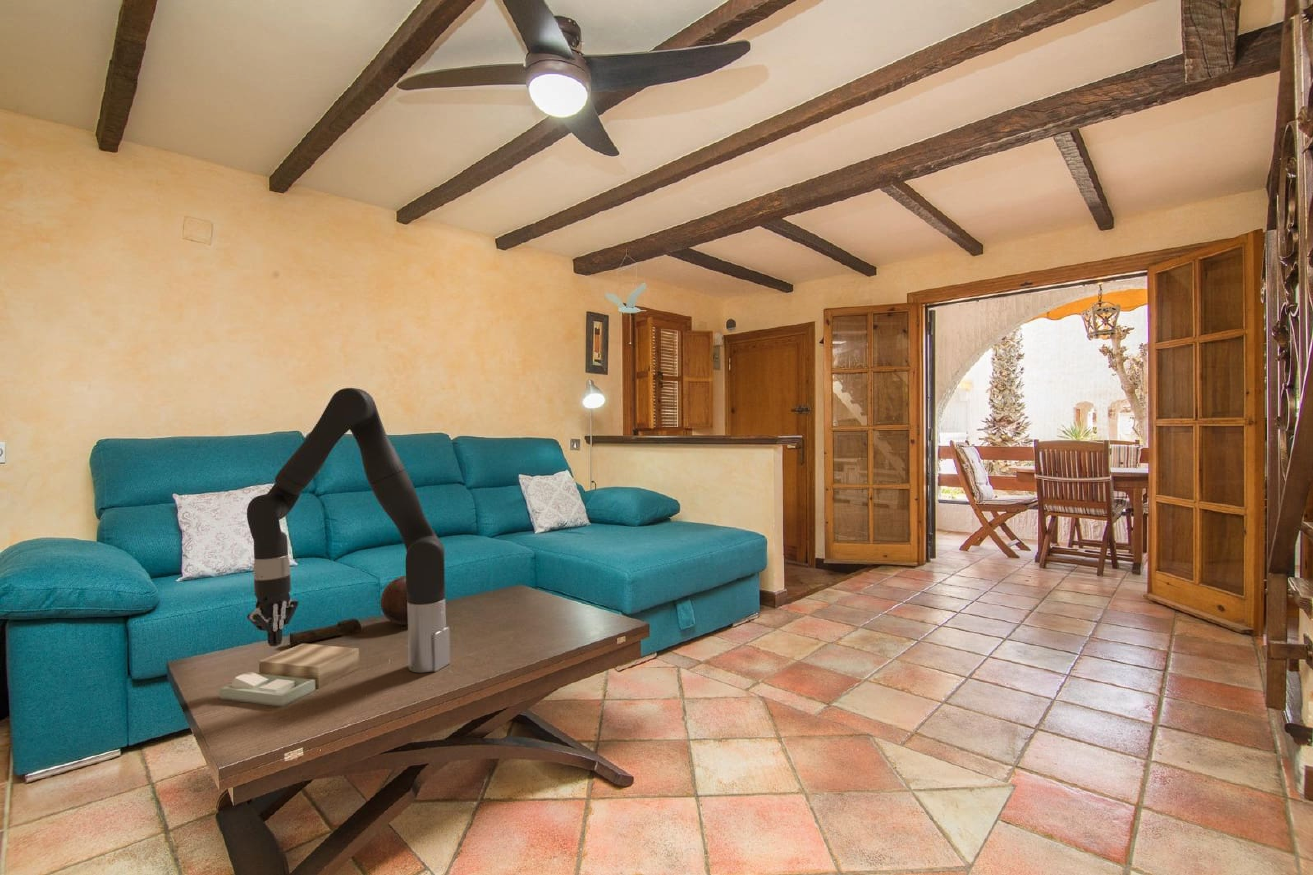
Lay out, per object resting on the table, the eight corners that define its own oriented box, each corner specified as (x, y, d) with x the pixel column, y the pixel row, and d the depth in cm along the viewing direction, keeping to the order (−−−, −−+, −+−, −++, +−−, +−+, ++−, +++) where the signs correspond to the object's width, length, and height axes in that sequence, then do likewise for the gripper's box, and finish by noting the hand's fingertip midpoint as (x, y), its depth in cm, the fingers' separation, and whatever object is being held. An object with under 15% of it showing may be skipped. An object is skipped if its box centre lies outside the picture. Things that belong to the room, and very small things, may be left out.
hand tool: (291, 649, 172) (290, 633, 172) (288, 645, 176) (288, 629, 176) (363, 634, 184) (362, 619, 184) (359, 631, 187) (359, 616, 187)
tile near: (275, 689, 138) (276, 698, 138) (294, 681, 143) (294, 689, 143) (258, 687, 139) (258, 696, 139) (277, 679, 144) (277, 687, 144)
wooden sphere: (440, 622, 194) (439, 575, 194) (394, 634, 183) (393, 584, 183) (417, 613, 204) (417, 569, 204) (372, 624, 193) (371, 577, 193)
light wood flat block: (359, 667, 157) (358, 648, 157) (318, 688, 144) (318, 667, 144) (303, 662, 162) (302, 643, 161) (259, 681, 149) (258, 661, 149)
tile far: (254, 686, 139) (250, 694, 139) (268, 679, 144) (265, 687, 144) (234, 677, 140) (231, 685, 139) (249, 671, 145) (246, 679, 144)
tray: (315, 690, 143) (315, 679, 143) (282, 706, 134) (282, 695, 134) (255, 683, 148) (255, 672, 148) (220, 698, 139) (220, 688, 139)
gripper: (260, 582, 141) (263, 656, 141) (306, 569, 154) (309, 637, 154) (235, 581, 143) (238, 654, 143) (283, 568, 156) (286, 635, 156)
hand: (275, 645), depth 148 cm, fingers closed
